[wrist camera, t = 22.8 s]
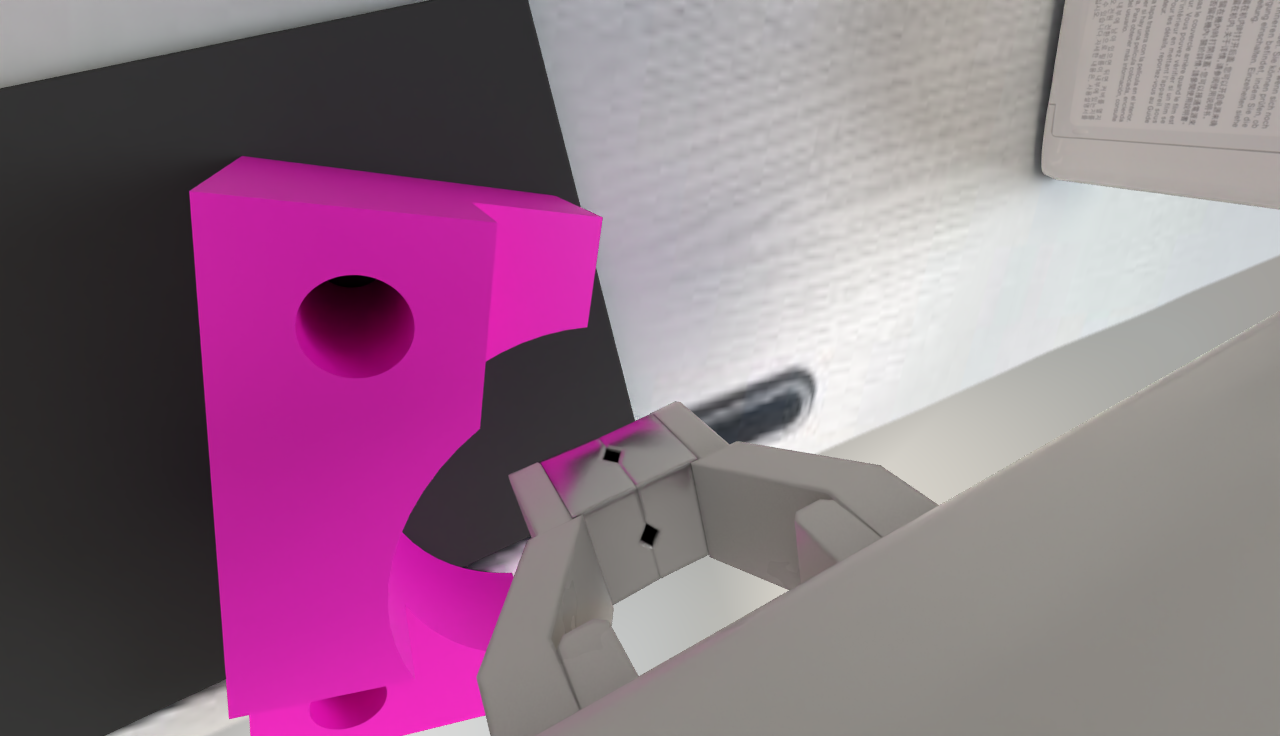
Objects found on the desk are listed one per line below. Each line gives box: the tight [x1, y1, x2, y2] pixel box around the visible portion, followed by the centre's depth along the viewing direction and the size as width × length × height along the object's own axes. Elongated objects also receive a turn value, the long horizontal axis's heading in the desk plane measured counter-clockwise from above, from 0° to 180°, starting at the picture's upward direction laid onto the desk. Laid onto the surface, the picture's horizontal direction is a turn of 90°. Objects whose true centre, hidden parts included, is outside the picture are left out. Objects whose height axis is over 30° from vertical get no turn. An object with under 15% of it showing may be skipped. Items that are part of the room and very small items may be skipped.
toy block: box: [189, 156, 603, 736], centre depth 16 cm, size 15×6×8 cm
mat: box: [0, 0, 635, 736], centre depth 17 cm, size 20×16×1 cm
